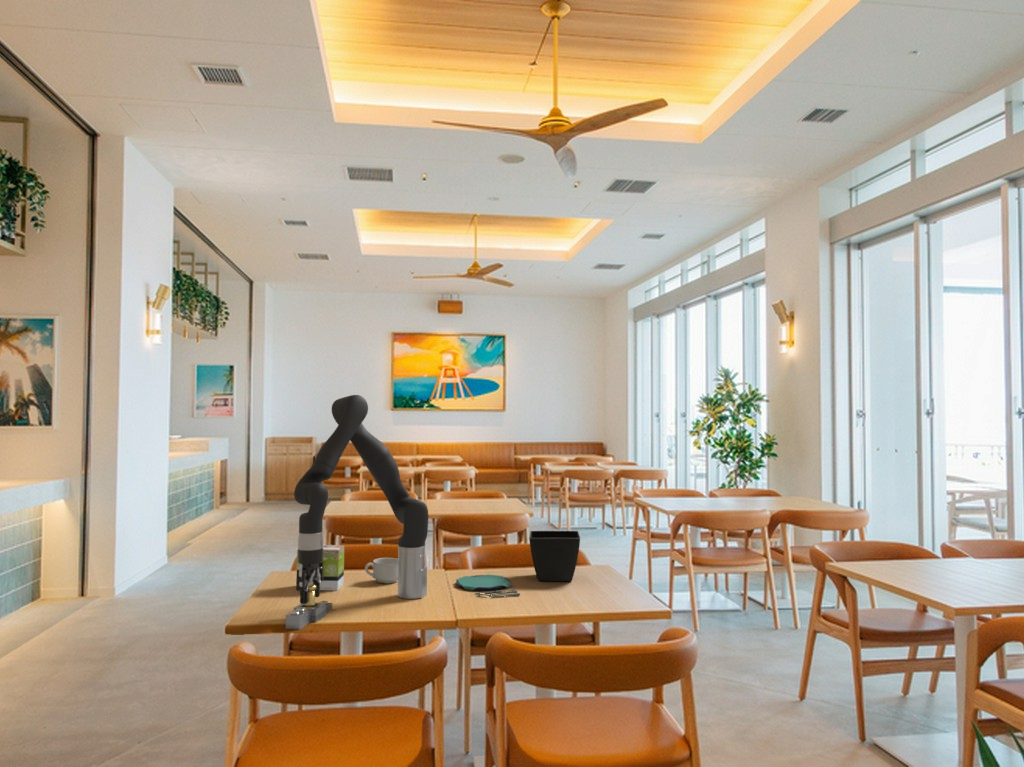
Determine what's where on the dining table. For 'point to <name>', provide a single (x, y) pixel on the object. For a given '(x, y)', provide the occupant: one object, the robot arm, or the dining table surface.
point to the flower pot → (554, 554)
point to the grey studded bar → (306, 614)
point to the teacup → (384, 570)
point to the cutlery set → (486, 584)
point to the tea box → (331, 567)
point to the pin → (311, 596)
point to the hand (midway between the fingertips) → (310, 600)
